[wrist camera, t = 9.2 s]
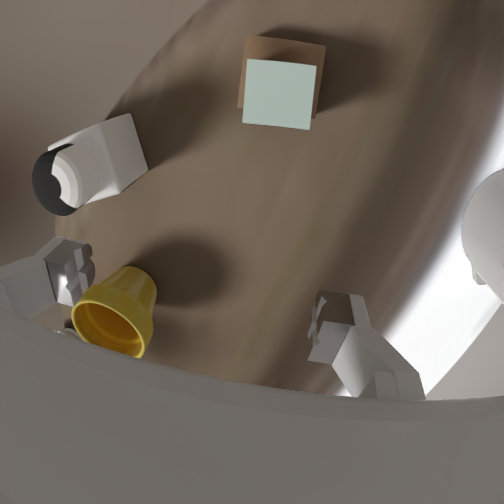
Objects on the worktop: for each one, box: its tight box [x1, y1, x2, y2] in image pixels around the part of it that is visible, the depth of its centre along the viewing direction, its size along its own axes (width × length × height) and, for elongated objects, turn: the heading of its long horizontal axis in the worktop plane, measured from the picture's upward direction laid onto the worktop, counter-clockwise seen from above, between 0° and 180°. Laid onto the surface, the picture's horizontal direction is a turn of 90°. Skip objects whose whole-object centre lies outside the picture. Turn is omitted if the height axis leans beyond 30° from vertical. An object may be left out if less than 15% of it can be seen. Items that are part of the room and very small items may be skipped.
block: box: [237, 35, 326, 119], centre depth 26 cm, size 7×7×3 cm
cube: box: [243, 59, 316, 130], centre depth 23 cm, size 5×5×5 cm
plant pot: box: [71, 266, 157, 358], centre depth 38 cm, size 10×10×10 cm
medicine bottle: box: [32, 113, 148, 216], centre depth 28 cm, size 7×7×12 cm
